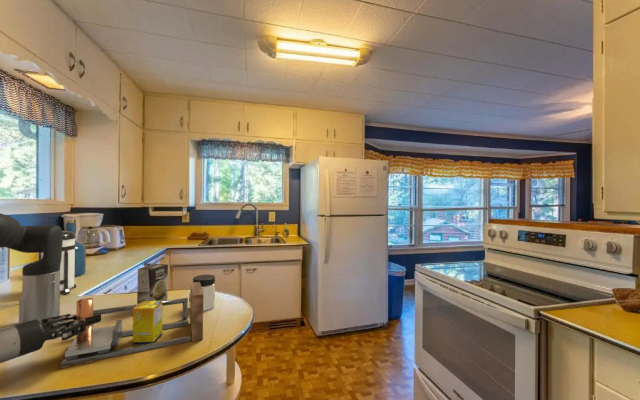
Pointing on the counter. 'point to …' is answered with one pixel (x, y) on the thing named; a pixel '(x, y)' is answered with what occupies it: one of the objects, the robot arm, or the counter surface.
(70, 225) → the teal bottle
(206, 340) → the counter surface
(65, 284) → the coffee press
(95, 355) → the track
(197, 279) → the jar
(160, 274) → the coffee box
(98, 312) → the handrail
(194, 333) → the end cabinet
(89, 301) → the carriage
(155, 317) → the supplement box
